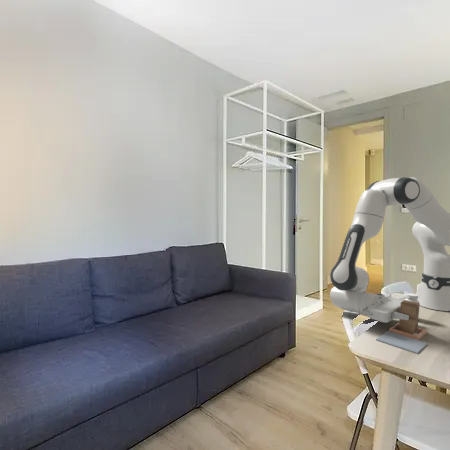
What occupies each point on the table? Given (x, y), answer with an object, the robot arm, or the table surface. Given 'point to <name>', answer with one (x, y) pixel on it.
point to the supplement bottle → (412, 298)
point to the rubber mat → (402, 342)
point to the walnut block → (413, 311)
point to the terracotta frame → (422, 333)
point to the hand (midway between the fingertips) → (412, 315)
